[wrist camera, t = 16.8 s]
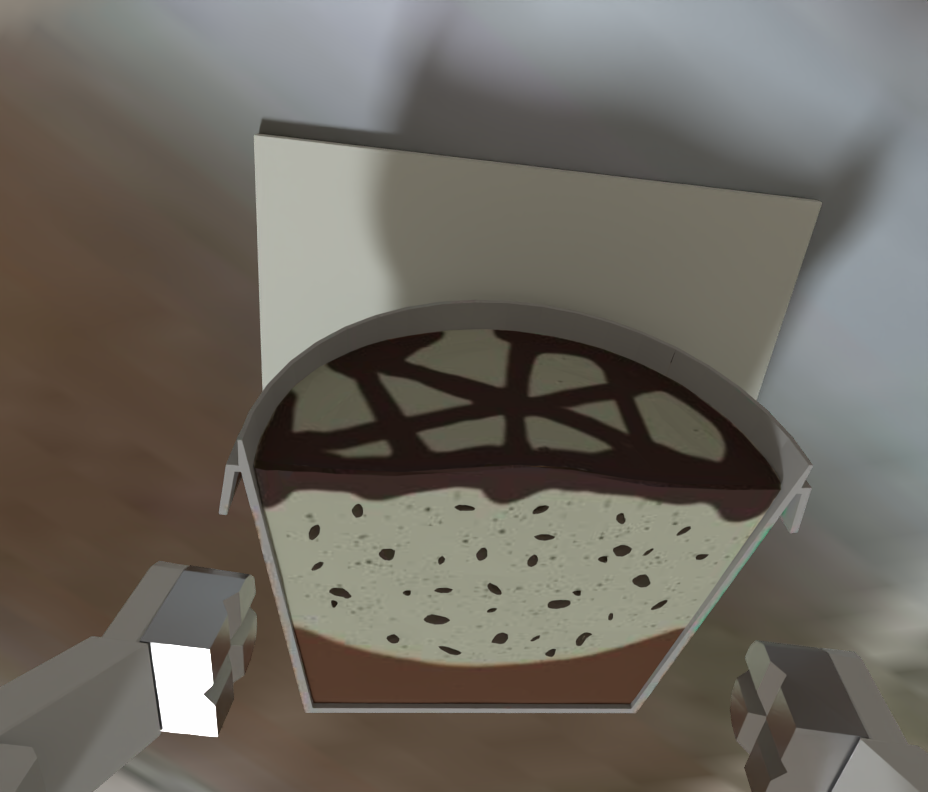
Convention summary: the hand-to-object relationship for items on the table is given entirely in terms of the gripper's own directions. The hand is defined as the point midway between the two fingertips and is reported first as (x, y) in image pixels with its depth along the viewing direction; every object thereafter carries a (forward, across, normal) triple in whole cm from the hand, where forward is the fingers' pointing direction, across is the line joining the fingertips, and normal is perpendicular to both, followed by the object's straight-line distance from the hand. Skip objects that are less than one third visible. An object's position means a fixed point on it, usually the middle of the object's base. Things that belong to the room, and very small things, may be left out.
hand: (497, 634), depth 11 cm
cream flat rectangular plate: (+10, 0, 0) cm, 10 cm away
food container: (+8, 0, +8) cm, 12 cm away
